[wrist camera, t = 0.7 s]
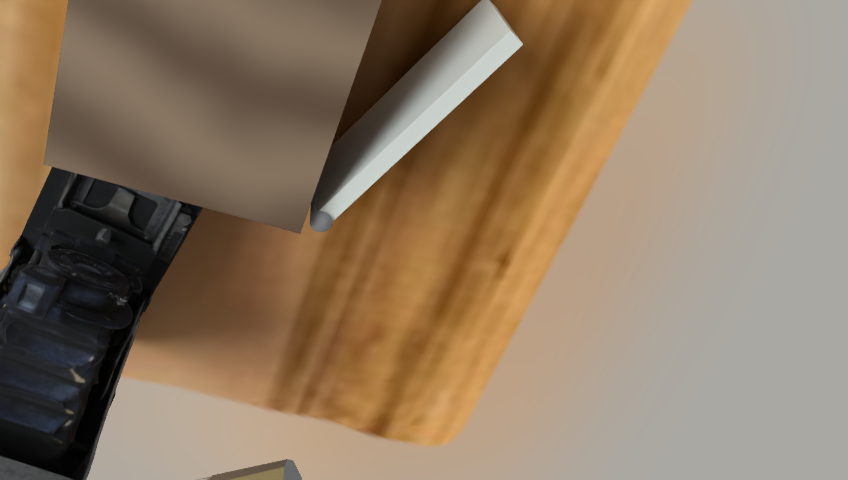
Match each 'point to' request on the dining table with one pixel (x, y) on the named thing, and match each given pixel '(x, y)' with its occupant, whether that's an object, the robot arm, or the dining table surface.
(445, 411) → the dining table surface
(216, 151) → the case
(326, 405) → the dining table surface
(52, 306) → the vintage camera
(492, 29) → the door
